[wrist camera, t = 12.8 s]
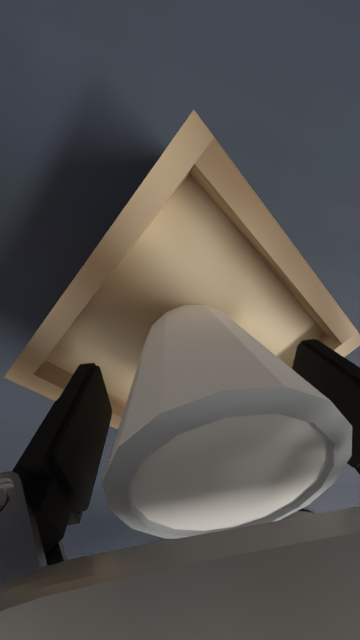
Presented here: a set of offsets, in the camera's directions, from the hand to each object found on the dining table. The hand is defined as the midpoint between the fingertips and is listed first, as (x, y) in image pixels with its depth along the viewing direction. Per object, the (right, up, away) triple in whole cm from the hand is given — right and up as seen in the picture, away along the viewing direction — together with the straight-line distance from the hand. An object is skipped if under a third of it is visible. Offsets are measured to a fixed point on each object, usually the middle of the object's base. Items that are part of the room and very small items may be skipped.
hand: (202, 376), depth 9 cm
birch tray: (-1, +3, +6) cm, 7 cm away
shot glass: (0, +1, +3) cm, 3 cm away
